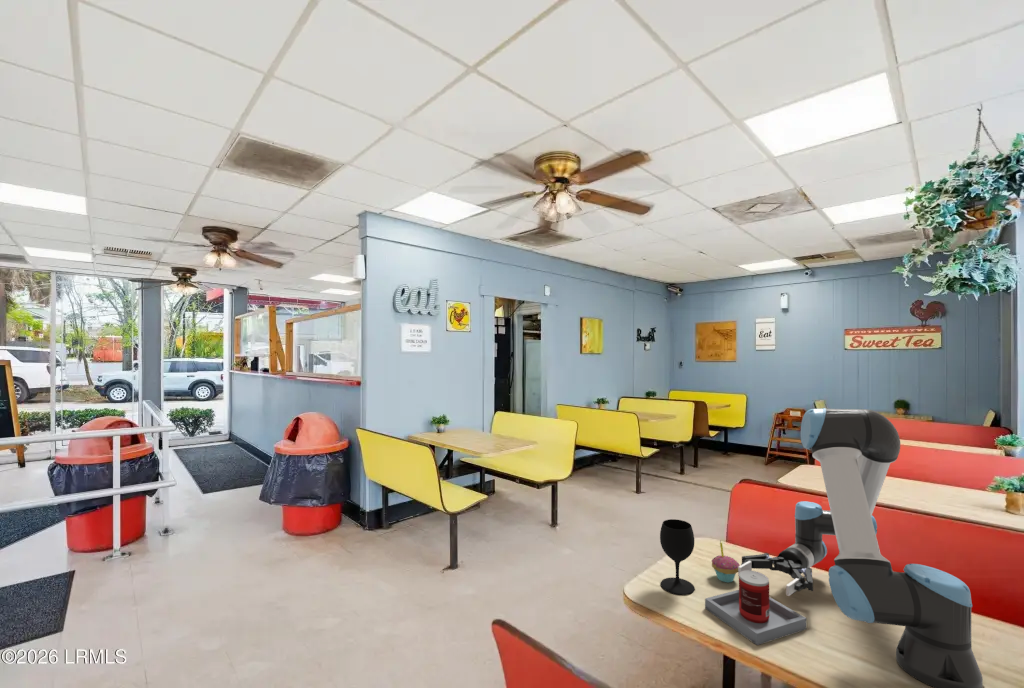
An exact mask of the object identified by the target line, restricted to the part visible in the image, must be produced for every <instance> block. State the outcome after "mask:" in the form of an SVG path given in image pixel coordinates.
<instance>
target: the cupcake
mask: <svg viewBox="0 0 1024 688" xmlns="http://www.w3.org/2000/svg"><path fill="white" fill-rule="evenodd" d="M719 541H720V542H719V545H720V555H717V556H715V557H713V558H712V560H711V567H712V569H713V570H714V571H715V574H716V577H717V579H718V580H719V581H721V582H724V583H732V582H733V581H734V580H735V577H736V574H738V567H739V566H741V564H740V563H739V562H738V561H737V560H735V558H734V557H731V556H728V555H724V554H725V553H724V547H723V542H722V541H721V540H719Z"/></svg>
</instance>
